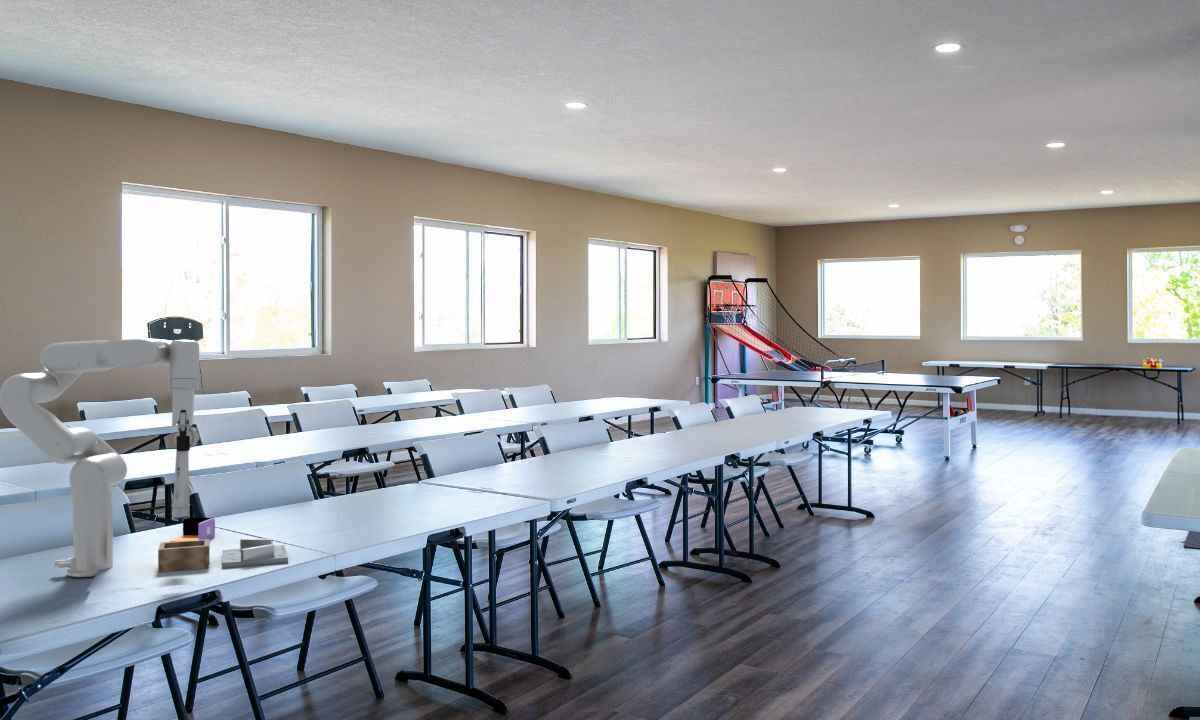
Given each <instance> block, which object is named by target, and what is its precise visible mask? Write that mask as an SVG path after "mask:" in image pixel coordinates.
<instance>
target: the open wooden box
mask: <svg viewBox="0 0 1200 720" xmlns="http://www.w3.org/2000/svg"><path fill="white" fill-rule="evenodd" d="M210 539H211V538H209V539H204V540H190V541H176V542H170V541H166V542H165V541H163V542H160V544H159V547H158V549H157V552H158V555H157V558H158V559H157V562H158V563H157V564H158V565H157V566H158V567H157V571H158V573H165V572H166V573H167V572H178V571H180V572H181V571H189V570H190V571H191V570H200V569H201V570H203V569H209V568H210V559H211V558H210V557H211V556H210V555H211V554H210V549H211V547H210V545H211V544H210Z"/></svg>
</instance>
